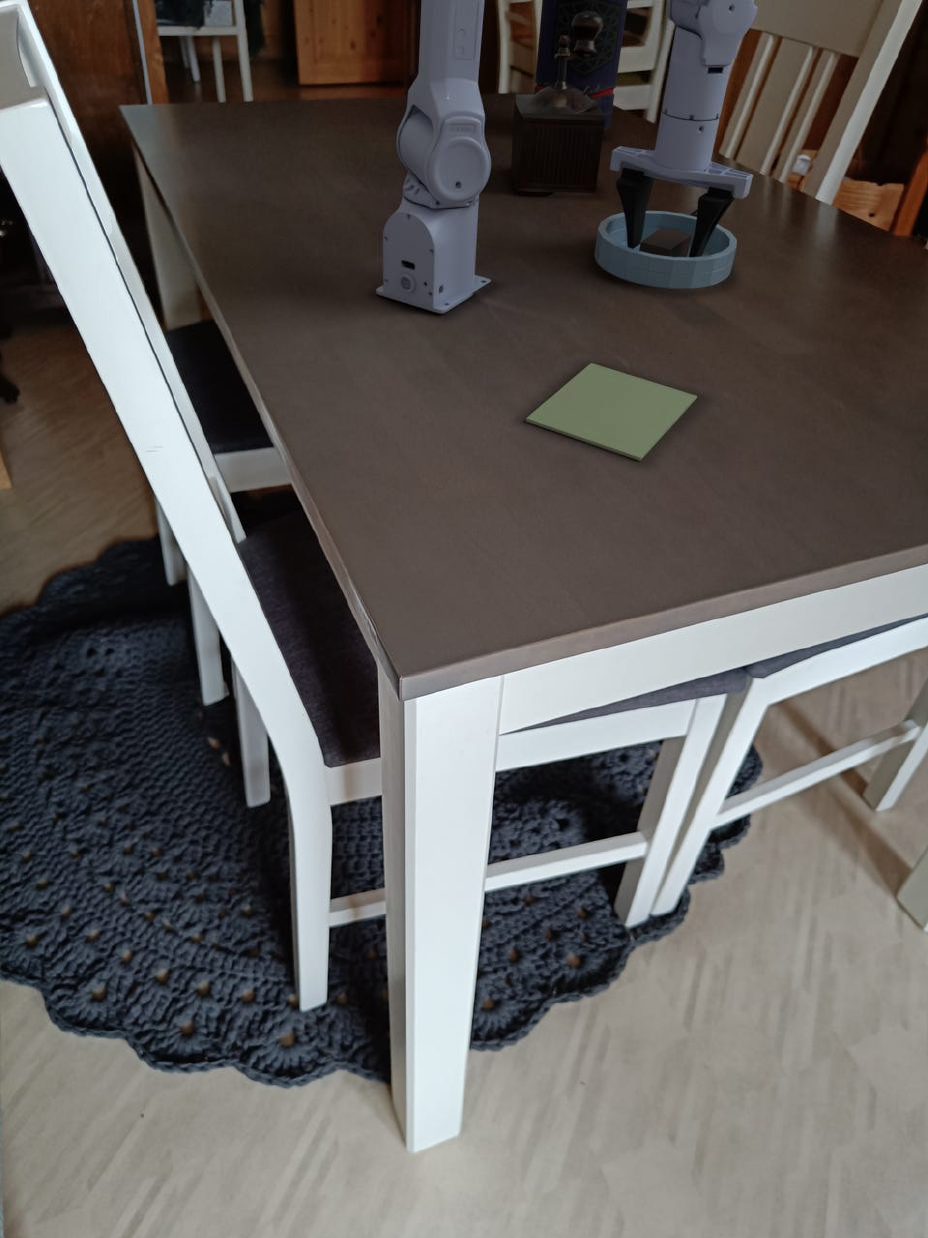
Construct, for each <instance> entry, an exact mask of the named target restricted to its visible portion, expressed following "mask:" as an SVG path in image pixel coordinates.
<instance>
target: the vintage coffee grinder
mask: <svg viewBox="0 0 928 1238" xmlns="http://www.w3.org/2000/svg"><path fill="white" fill-rule="evenodd" d="M602 27H603V22H602V18H601V17H600V16H599V15H598V14H597V13H596V12H592V11H582V12H580V13H578V14H577V15H575V17H574V19H573V21H572V29H573V31H574V33H575V35H576V38H577V43H576V46H575V48H574V50H573V51H574V53H570V50H569V49H568V46H569V42H570V39H569V36H567V35H563V36H561V37H560V39H559V45H560V48H559V49H558V51H559V53H558V54H555V59H556V60H557V61H559V71H558V81H557V82H556V84H555V85H553V86H548V87H546V88H544V89H542V90H540V91H539V92H537V93H536V94H534V93H532V94H525V93H523V94H521V93H520V94H519V93H518V94H517V93H516V94H515V96H514V105H513V106H514V107H513V121H512V138H511V165H510V171H509V173H510V178H511V179H510V180H511V182H512V185H513V187H514V190H515V192H516V194H517V195H524V196H543V197H550V196H551V195H554V194H555V193H574V194H577V193H578V194H597V186H598V185H597V184H598V176H599V169H600V162H601V154H602V148H603V139H604V134H605V133H604V132H605V131H604V126H605V116H604V114H603V112H602V110H601V108H600V107H599V105H598V101H597V100H596V99H595V98H594V97H593V96H587V95H586V93H587V92H588V89H589V85H588V86H587V87H586V89H585V90H584V92H583V91H581V90H579V89H577V88H576V87H574V86H572V85H571V84H568V85H567V84H566V82H565V76H566V64H567V61H570V60H573V59H576V58H579V57H581V58H582V59H583V60H584V59H585V57H587V56H588V55H589V54H595V53H596V50H595V47H594V41H595V39H596V37H597V36H598V34H599V33H600V32H601V31H602Z"/></svg>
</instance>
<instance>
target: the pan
mask: <svg viewBox="0 0 928 1238" xmlns="http://www.w3.org/2000/svg"><path fill="white" fill-rule="evenodd" d="M696 220H697V217H694V216H690V214H685V213H681V212H679V213H678V212H672V211H664V210H646V215H645V222H644V228H643V235H642V239H641V242H642V241H643V240H645V239H646V238H647V237H649V236H650V235H652V234H653V233H654V232H656V231H657V230H659V229H660V228H661V227H665V228H669V229H673V230H677V231H682V232H686V233H690V234H692V236H691V241H690V246H689V250H688V255H687V257H669V256H661V255H654V254H649V253H645V252H642V251H639V249H640V245H638V246H637V247H635V248H634V249H631V248H629V247H627V230H626V221H625V215H624V211H623V212H620V213H617V214H613V215H610V216H608V217H606V218H604V219H603V220H601V221H600V223H599V226H598V228H597V232H596V233H597V234H596V240H595V248H594V253H593V254H594V255H593V256H594V259H595V262H596V263H597V264H598V266H599V267H601V268H602V269H603V270H604V271H606V272H607V273H609V274H611V275H613V276H614V277H617V278H619V279H622V280H624V281H627V282H630V283H634V284H638V285H643V286H647V287H653V288H660V289H670V290H671V289H672V290H692V289H701V288H707V287H711V286H714V285H717V284H719V283H722V282H723V281H725V280H726V279H727V278H728V277H729V276H730V275H731V271H732V268H733V264H734V260H735V255H736V251H737V248H738V247H737V246H738V245H737V244H738V240H737V237H735V236H734V234H733V233H732V232H731V231H730V230H728V229H726V228H725V227H723V226H722V225H720V224H719V223H718V224H717V226H716V227H715V229H714V231H713V233H712V235H711V237H710V239H709V241H708V243H707V245H706V247H705V249H704V252H703V255H702V256H701V257H689V253H690V250H691V246H692V242H693V238H694V234H695V227H696ZM641 242H640V243H641Z"/></svg>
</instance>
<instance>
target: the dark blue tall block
mask: <svg viewBox="0 0 928 1238" xmlns="http://www.w3.org/2000/svg"><path fill="white" fill-rule="evenodd" d="M628 2H629V0H542V1H541V9H540V10H541V12H540V22H539V33H538V34H539V35H538V45H537V55H536V56H537V57H536V65H535V66H536V67H535V79H534V83H535V84H536V85H534V89H533V91H534V92H533V94H536V93H537V92H539V91H540V90H542V89H544V88H546V87H548V86H553V85H555V84H556V82H557V81H558V71H559V61H557V60H556V59H555V54H558V53H559V51H558V49H559V48H560V45H559V39H560V37H561V36H563V35H567V36H569V39H570V42H569V46H568V49H569V50H570V53H574V51H573V50H574V48H575V46H576V43H577V38H576V35H575V33H574V31H573V29H572V21H573V19H574V17H575V15H577V14H578V13H580V12H582V11H592V12H596V13H597V14H598V15H599V16H600V17H601V18H602V22H603V27H602V31H601V32H600V33H599V34H598V36H597V37H596V39H595V41H594V47H595V50H596V53H595V54H589V55H588V56H587V57H585V59H584V60H583V59H582V58H581V57H579V58H576V59H573V60H570V61H567V64H566V76H565V82H566V84H567V85H568V84H571V85H572V86H574V87H576V88H577V89H579V90H581V91H583V92H584V90H585V89H586V87H587V86H588V85H589V89H588V92H587V93H586V95H587V96H593V97H594V98H595V99H596V100H597V101H598V105H599V107H600V108H601V110H602V112H603V114H604V116H605V126H604V132H606V131H607V130H609V128H610V127H611V122H612V116H613V108H614V101H615V93H614V89H616V87H617V81H618V80H617V79H618V73H619V66H620V59H621V52H622V46H623V38H624V32H625V31H624V30H625V26H626V25H625V24H626V16H627V11H628V4H629V3H628Z"/></svg>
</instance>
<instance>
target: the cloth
mask: <svg viewBox="0 0 928 1238" xmlns="http://www.w3.org/2000/svg"><path fill="white" fill-rule="evenodd" d="M697 398H698V396H697V395H695V394H692V393H689V392H687V391H684V390H683V391H682V390H680V389H676V388H673V387H669V386H666V385H663V384H660V383H658V382H654V381H650V380H648V379H645V378H641V377H638V376H635V375H631V374H628V373H625V372H622V371H619V370H614V369H611V368H608V367H606V366H602V365H599V364H596V363H593V362H591V363H589V364H588V365H586V367H585V368H583V369H582V370H581V371H579V373H578V374H577V373H576V375H575V376H574V377H572V378H571V379H570V380H569V381H568V382H567V383H565V384H564V385H563V386H562V387H561V388H560V389H559V390H558V391H556V392H555V393H553V395H552V396H551V397H549V398H547V400H546V401H545V402H544V403H542V404H541V405H540V406H538V407H537V408H536V409H535V410H534V411H533V412H532V413H530V414H529V415H528V416H527V417H526V418H525V422H526V423H529V424H532V425H535V426H538V427H540V428H543V429H547V430H549V431H553V432H555V433H558V434H561V435H564V436H567V437H570V438H573V439H576V440H579V441H581V442H585V443H587V444H589V445H592V446H595V447H599V448H600V449H604V450H606V451H607V450H608V451H610V452H612V453H615V454H619V455H621V456H625V457H628V458H630V459H633V460H636V461H639V462H641V461H642V460H643V458H645V456H647V454H648V453H649V452H650V451H651V450H652V449H653V447H655V446H656V444H657V443H658V442H659V441H660V440H661V439H662V438H663V437H664V435H666V433H667V432H668V431H669V430H670V429H671V428H672V427H673V425H675V424H676V422H677V421H678V420H679V419H680V418H681V417H682V416H683V415H684V413H686V411H687V410H688V409H689V408H690V407H691V406H692V405H693V404H694V403H695V402H696V400H697Z"/></svg>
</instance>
